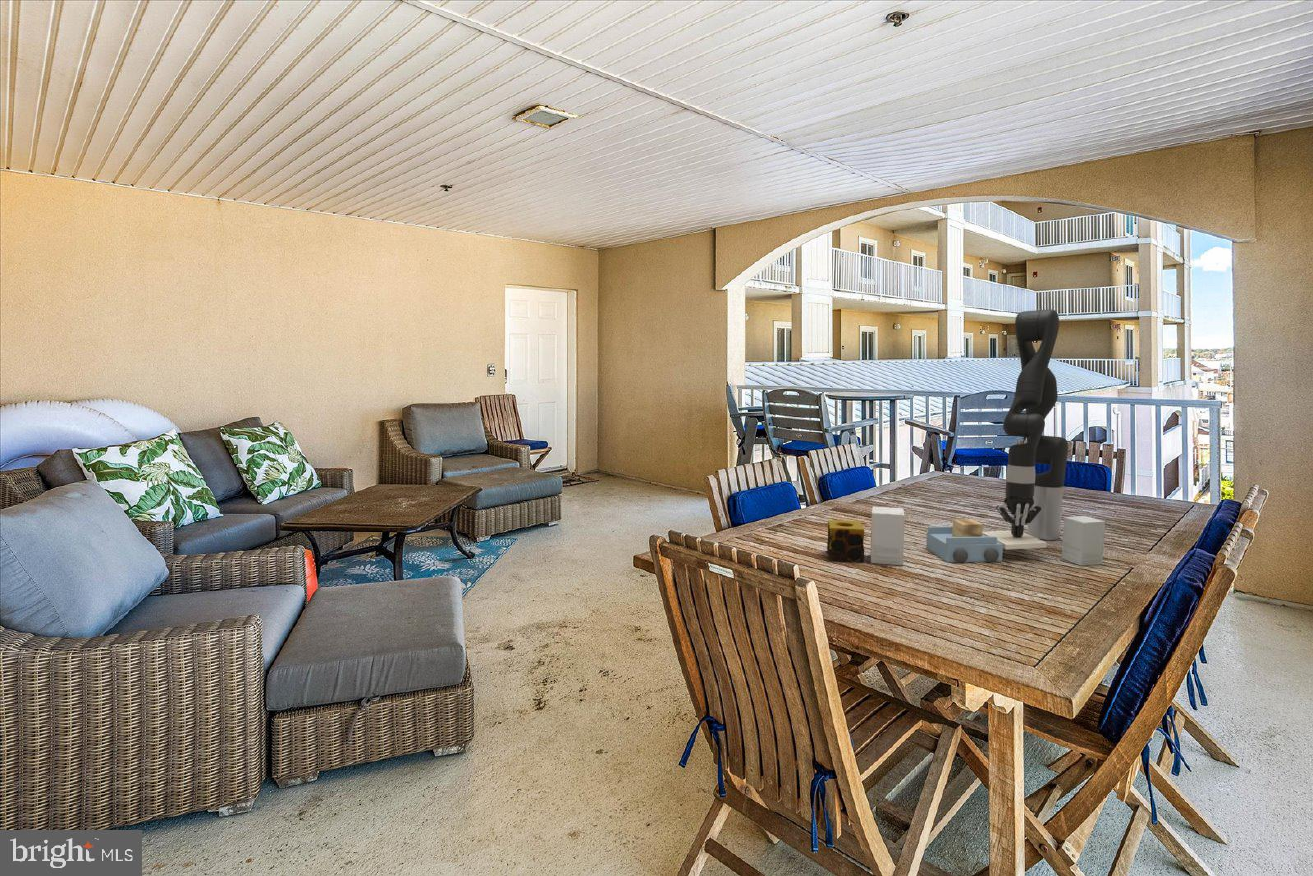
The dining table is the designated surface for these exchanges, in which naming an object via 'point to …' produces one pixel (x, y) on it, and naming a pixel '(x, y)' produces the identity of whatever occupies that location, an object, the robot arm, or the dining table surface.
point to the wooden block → (967, 528)
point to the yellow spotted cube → (845, 541)
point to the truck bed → (962, 546)
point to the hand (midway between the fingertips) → (1016, 536)
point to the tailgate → (1016, 540)
